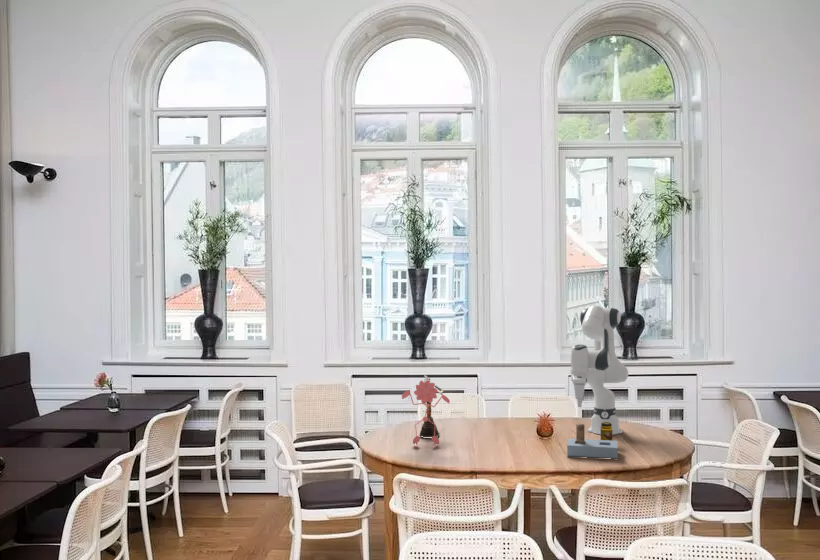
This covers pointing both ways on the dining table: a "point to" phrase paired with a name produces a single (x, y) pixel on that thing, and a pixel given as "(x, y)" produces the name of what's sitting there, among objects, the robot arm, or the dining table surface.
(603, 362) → the robot arm
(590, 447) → the bore block
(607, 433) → the condiment
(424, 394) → the pink flower figurine
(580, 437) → the walnut pin
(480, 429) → the dining table surface
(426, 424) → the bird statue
